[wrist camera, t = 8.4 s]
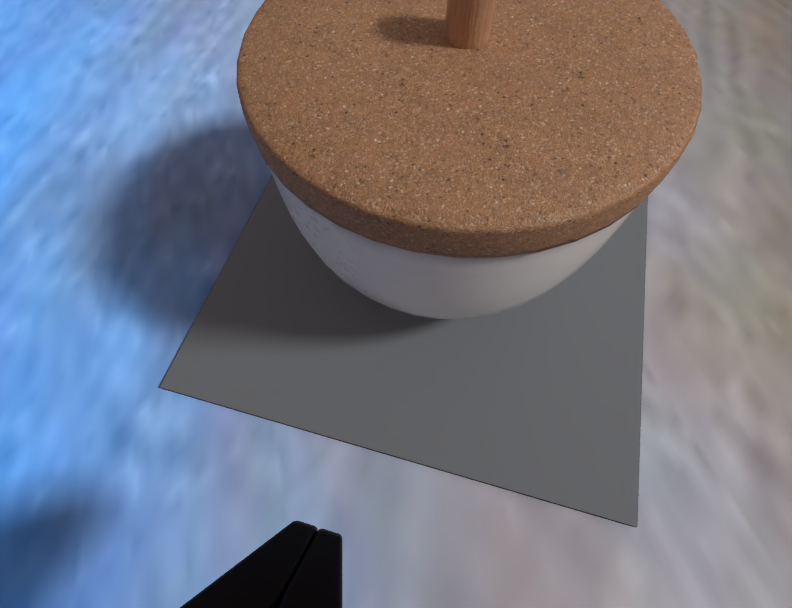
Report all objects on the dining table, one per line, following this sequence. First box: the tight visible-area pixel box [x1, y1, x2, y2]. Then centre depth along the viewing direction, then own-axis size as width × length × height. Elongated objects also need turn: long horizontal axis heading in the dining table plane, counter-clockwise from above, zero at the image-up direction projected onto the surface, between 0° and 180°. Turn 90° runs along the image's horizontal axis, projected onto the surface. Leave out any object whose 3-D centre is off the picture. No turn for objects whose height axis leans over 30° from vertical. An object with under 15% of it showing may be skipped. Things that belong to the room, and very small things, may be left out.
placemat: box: [160, 176, 648, 527], centre depth 20 cm, size 18×18×1 cm
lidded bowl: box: [237, 0, 702, 319], centre depth 15 cm, size 13×13×11 cm
